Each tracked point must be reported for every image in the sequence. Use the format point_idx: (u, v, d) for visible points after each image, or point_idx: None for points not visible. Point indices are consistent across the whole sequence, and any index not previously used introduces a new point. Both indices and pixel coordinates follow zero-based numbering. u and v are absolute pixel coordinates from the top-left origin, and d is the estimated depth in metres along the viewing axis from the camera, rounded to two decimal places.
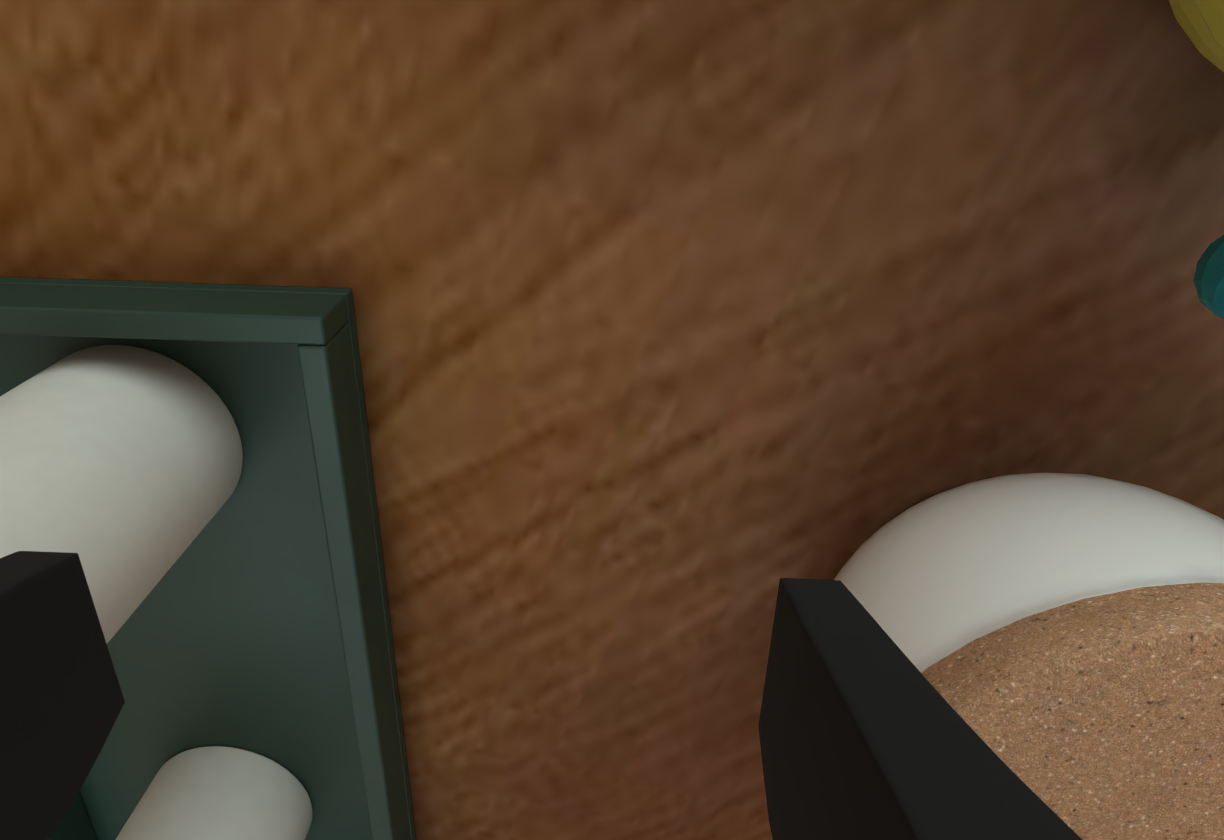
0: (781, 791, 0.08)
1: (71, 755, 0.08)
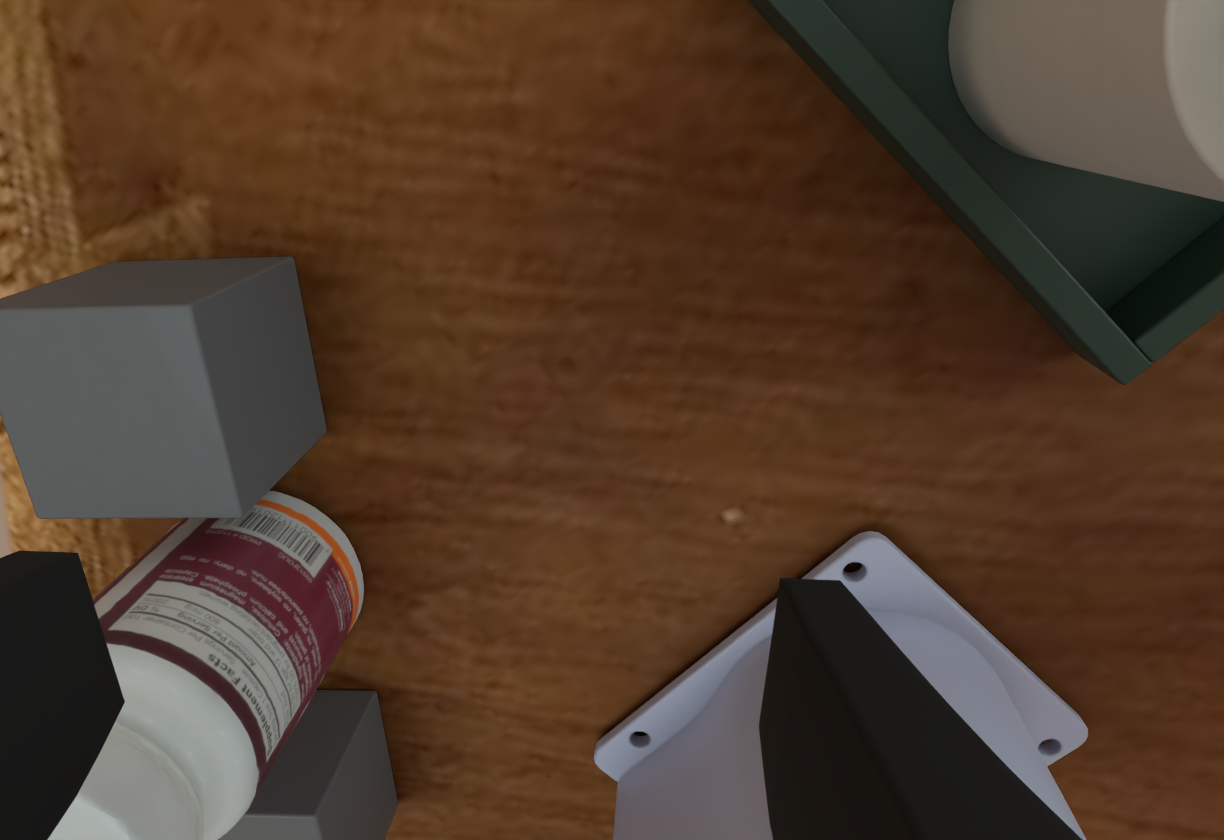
0: (781, 791, 0.08)
1: (71, 755, 0.08)
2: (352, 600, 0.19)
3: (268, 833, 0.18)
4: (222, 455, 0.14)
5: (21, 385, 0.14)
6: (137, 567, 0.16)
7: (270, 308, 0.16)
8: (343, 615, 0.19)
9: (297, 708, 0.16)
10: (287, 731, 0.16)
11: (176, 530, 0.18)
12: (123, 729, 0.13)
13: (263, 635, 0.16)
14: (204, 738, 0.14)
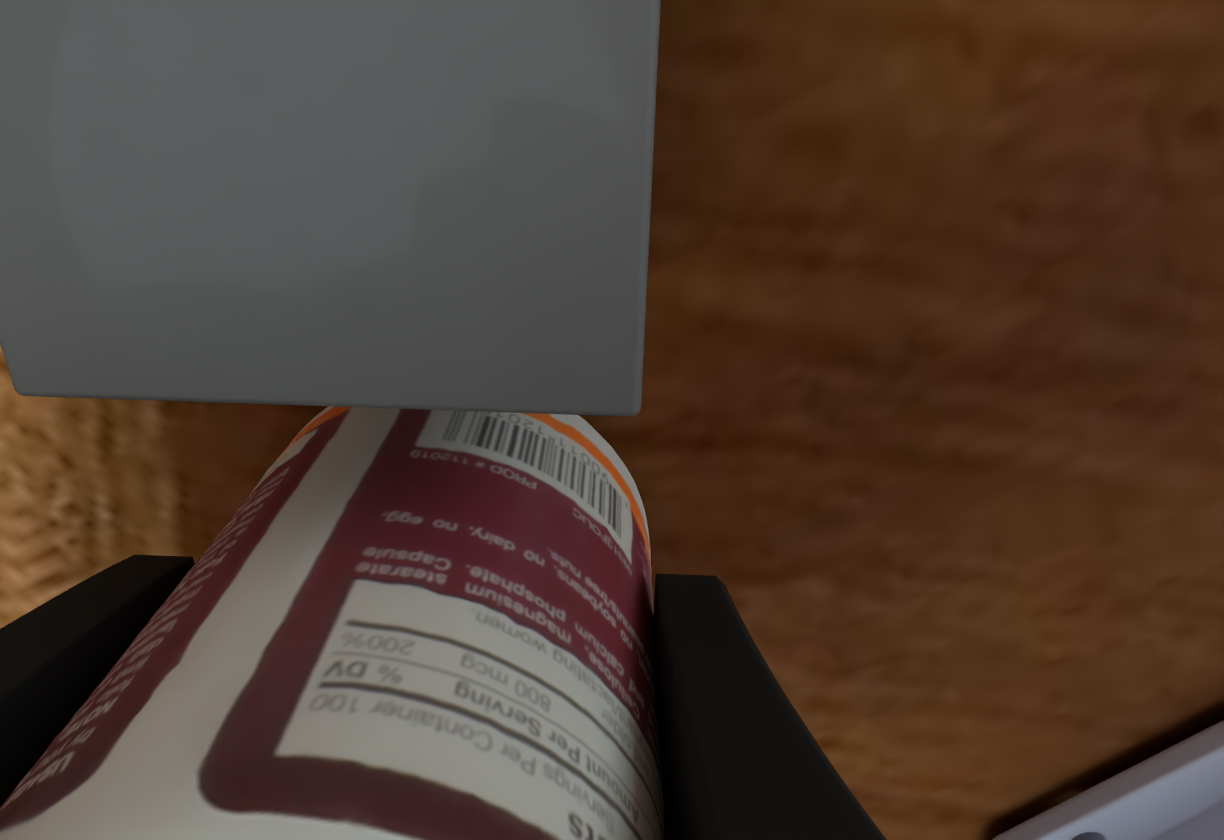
0: None
1: None
2: None
3: None
4: (638, 215, 0.05)
5: None
6: (272, 537, 0.06)
7: None
8: None
9: None
10: None
11: (327, 449, 0.08)
12: None
13: (624, 725, 0.06)
14: None
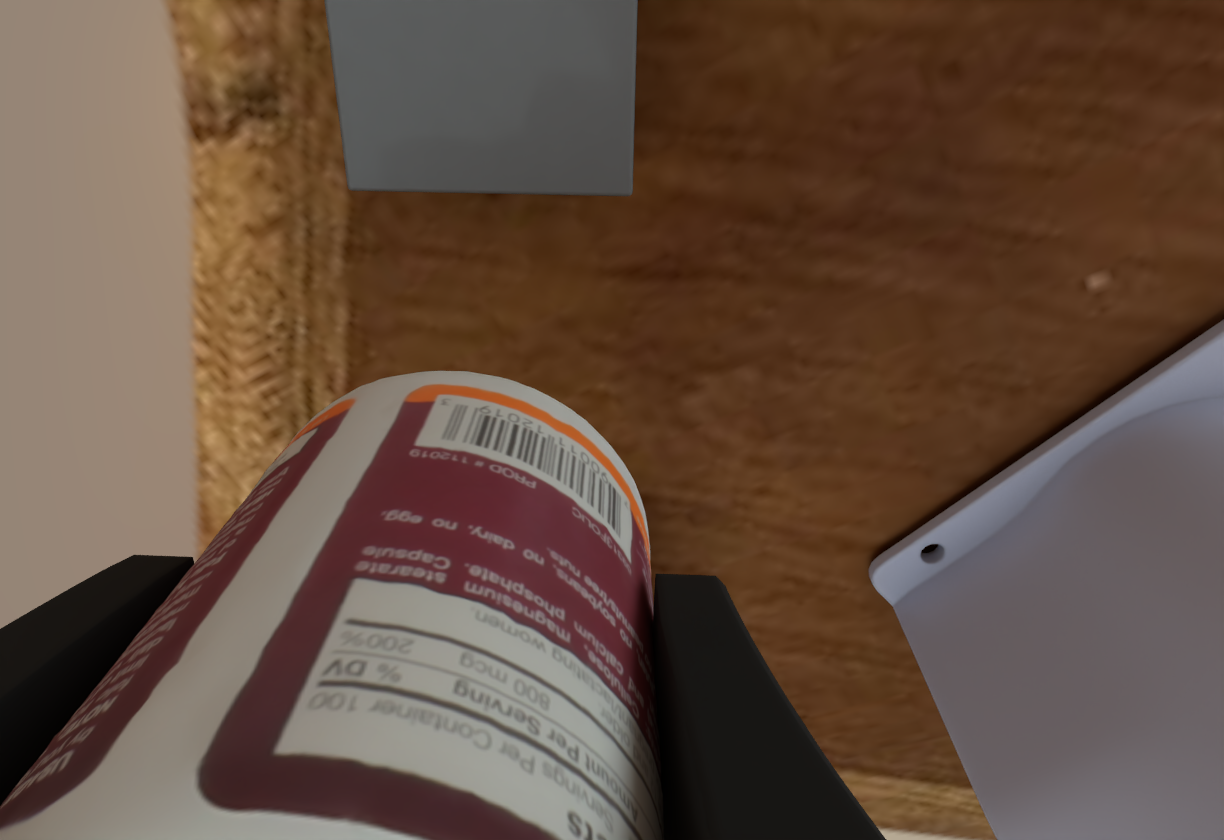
0: None
1: None
2: None
3: None
4: (630, 98, 0.11)
5: None
6: (272, 536, 0.06)
7: None
8: None
9: None
10: None
11: (326, 448, 0.08)
12: None
13: (624, 724, 0.06)
14: None
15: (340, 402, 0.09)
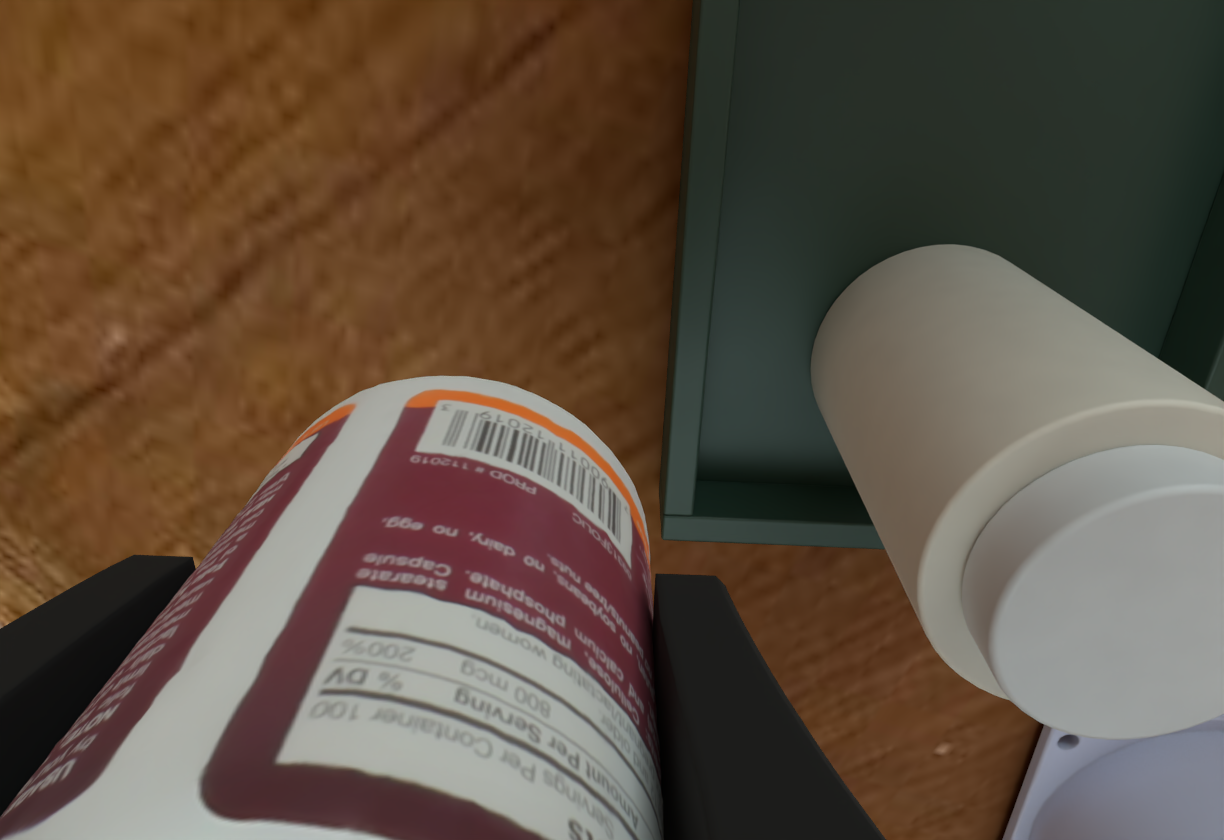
0: None
1: None
2: None
3: None
4: None
5: None
6: (273, 543, 0.06)
7: None
8: None
9: None
10: None
11: (327, 454, 0.08)
12: None
13: (624, 731, 0.06)
14: None
15: (340, 407, 0.09)
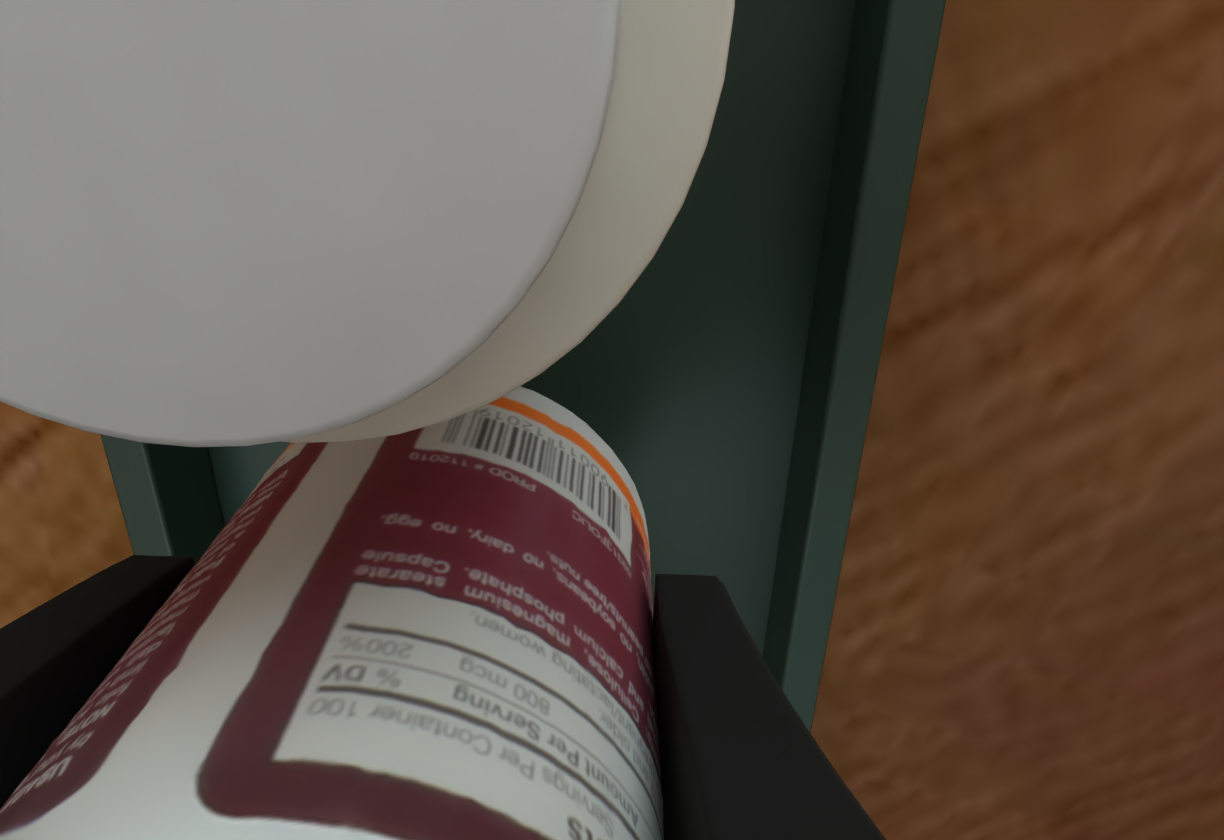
0: None
1: None
2: None
3: None
4: None
5: None
6: (271, 540, 0.06)
7: None
8: None
9: None
10: None
11: (325, 451, 0.08)
12: None
13: (624, 729, 0.06)
14: None
15: None
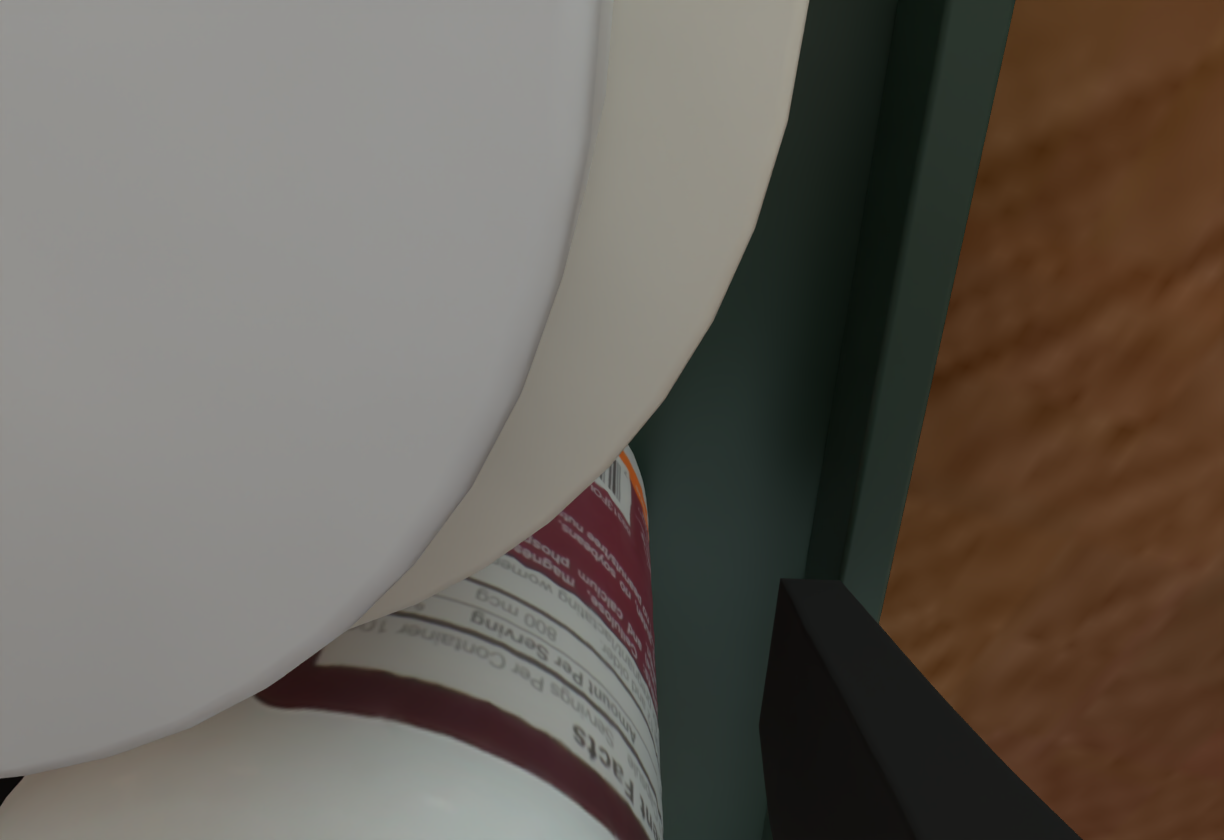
0: (781, 791, 0.08)
1: None
2: None
3: None
4: None
5: None
6: None
7: None
8: None
9: None
10: None
11: None
12: None
13: (624, 661, 0.07)
14: None
15: None
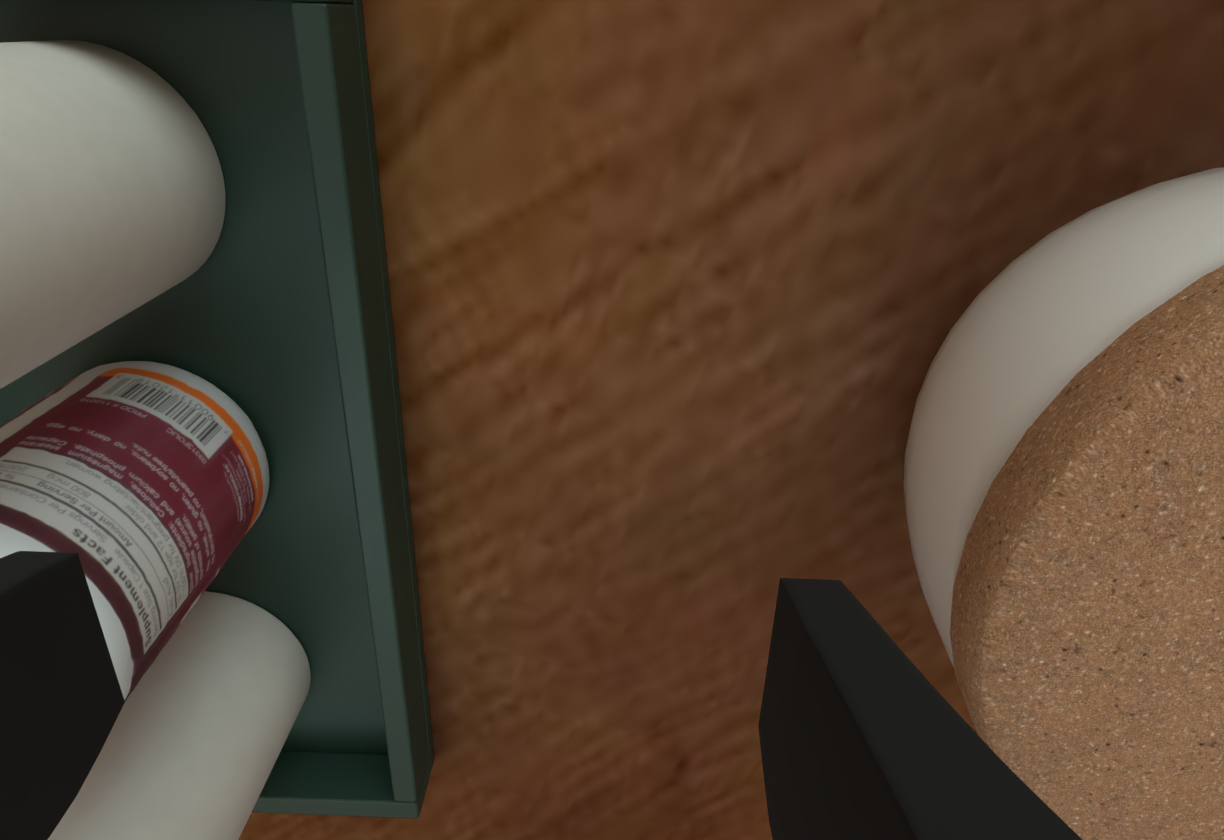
0: (781, 791, 0.08)
1: (71, 755, 0.08)
2: (255, 489, 0.17)
3: None
4: None
5: None
6: None
7: None
8: (243, 504, 0.17)
9: (184, 599, 0.15)
10: (171, 623, 0.14)
11: (46, 398, 0.15)
12: None
13: (143, 515, 0.14)
14: None
15: None
